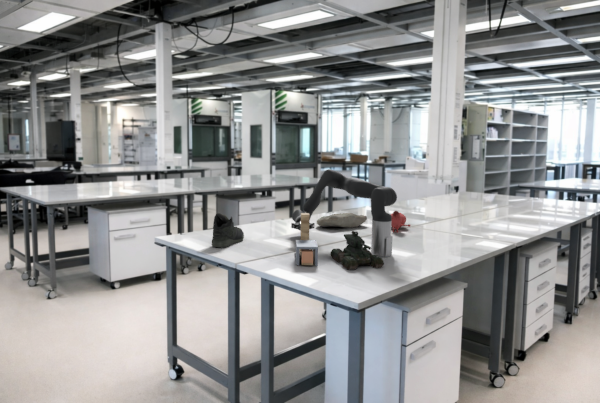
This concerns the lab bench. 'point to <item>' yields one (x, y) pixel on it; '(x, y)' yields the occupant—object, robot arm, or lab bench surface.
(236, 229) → the sneaker
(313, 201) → the robot arm
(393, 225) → the toy
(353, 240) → the toy tank
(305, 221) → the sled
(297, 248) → the tunnel
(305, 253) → the block
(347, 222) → the stone
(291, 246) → the lab bench surface
